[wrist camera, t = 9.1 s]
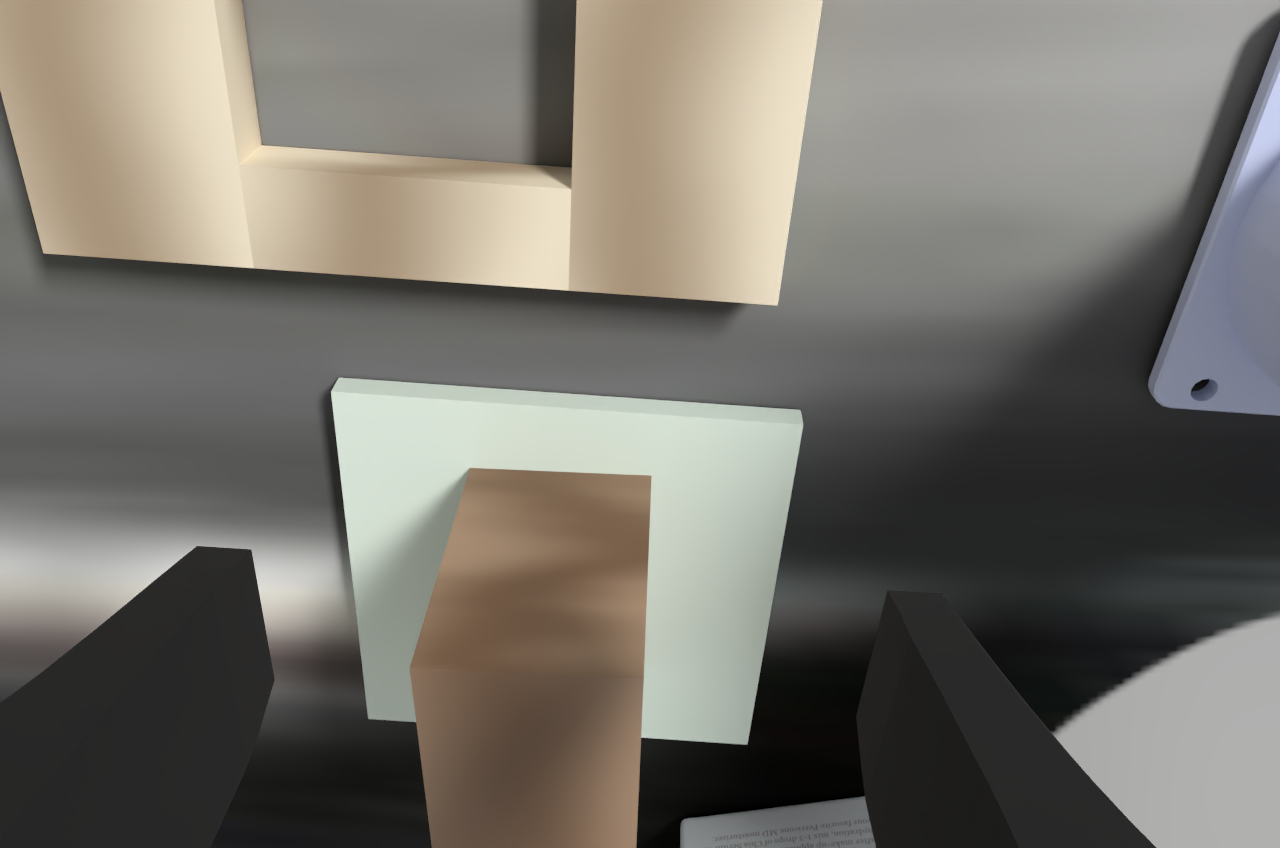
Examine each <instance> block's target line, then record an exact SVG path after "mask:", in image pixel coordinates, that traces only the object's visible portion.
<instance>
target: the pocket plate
mask: <svg viewBox="0 0 1280 848" xmlns="http://www.w3.org/2000/svg"><path fill="white" fill-rule="evenodd" d="M822 2H823V0H577V6H576V42H575V77H574V113H573V149H572V168H570V167H557V166H543V165H529V164H515V163H501V162H487V161H473V160H459V159H445V158H431V157H417V156H403V155H389V154H375V153H361V152H347V151H333V150H319V149H305V148H291V147H277V146H264V145H261V138H260V130H259V123H258V116H257V108H256V101H255V94H254V86H253V79H252V71H251V64H250V57H249V49H248V42H247V35H246V27H245V20H244V12H243V5H242V0H0V91H1V95H2V99H3V103H4V106H5V110H6V114H7V118H8V121H9V125H10V129H11V133H12V136H13V140H14V144H15V148H16V152H17V155H18V159H19V163H20V167H21V170H22V174H23V178H24V182H25V185H26V189H27V193H28V197H29V201H30V204H31V208H32V212H33V216H34V219H35V223H36V227H37V231H38V234H39V238H40V242H41V246H42V250H43V253H45V254H59V255H73V256H87V257H102V258H116V259H130V260H144V261H158V262H172V263H186V264H200V265H214V266H228V267H243V268H257V269H271V270H285V271H299V272H313V273H327V274H341V275H355V276H370V277H384V278H398V279H412V280H426V281H440V282H454V283H468V284H482V285H497V286H511V287H525V288H539V289H553V290H567V291H581V292H595V293H609V294H624V295H638V296H652V297H666V298H680V299H694V300H708V301H722V302H736V303H750V304H765V305H778V299H779V292H780V286H781V279H782V272H783V265H784V259H785V252H786V245H787V238H788V232H789V225H790V218H791V211H792V205H793V198H794V191H795V184H796V178H797V171H798V164H799V157H800V151H801V144H802V137H803V130H804V124H805V117H806V110H807V103H808V97H809V90H810V83H811V76H812V70H813V63H814V56H815V49H816V43H817V36H818V29H819V22H820V16H821V9H822Z"/></svg>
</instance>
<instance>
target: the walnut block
mask: <svg viewBox="0 0 1280 848" xmlns="http://www.w3.org/2000/svg"><path fill="white" fill-rule="evenodd" d="M650 502H651V476H648V475H625V474H601V473H578V472H554V471H531V470H507V469H484V468H470V469H469V472H468V476H467V479H466V482H465V486H464V489H463V492H462V496H461V499H460V502H459V506H458V509H457V512H456V515H455V519H454V522H453V525H452V529H451V532H450V535H449V539H448V542H447V545H446V549H445V552H444V555H443V559H442V562H441V565H440V568H439V572H438V575H437V578H436V582H435V585H434V588H433V592H432V595H431V598H430V602H429V605H428V608H427V611H426V615H425V618H424V621H423V625H422V628H421V631H420V635H419V638H418V641H417V645H416V648H415V651H414V655H413V658H412V661H411V664H410V676H411V684H412V692H413V700H414V708H415V716H416V724H417V732H418V740H419V748H420V756H421V764H422V772H423V780H424V788H425V796H426V804H427V812H428V820H429V828H430V836H431V844H432V848H636V841H637V819H638V796H639V773H640V751H641V728H642V705H643V683H644V657H645V632H646V606H647V580H648V554H649V528H650Z"/></svg>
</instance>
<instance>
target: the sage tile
mask: <svg viewBox="0 0 1280 848" xmlns="http://www.w3.org/2000/svg"><path fill="white" fill-rule="evenodd" d="M331 397H332V405H333V414H334V423H335V432H336V441H337V449H338V458H339V467H340V476H341V485H342V493H343V502H344V511H345V520H346V528H347V537H348V546H349V555H350V564H351V572H352V581H353V590H354V599H355V608H356V616H357V625H358V634H359V643H360V651H361V660H362V669H363V678H364V687H365V695H366V704H367V713H368V719H377V720H392V721H406V722H416V716H415V708H414V700H413V692H412V684H411V676H410V664H411V661H412V658H413V655H414V651H415V648H416V645H417V641H418V638H419V635H420V631H421V628H422V625H423V621H424V618H425V615H426V611H427V608H428V605H429V602H430V598H431V595H432V592H433V588H434V585H435V582H436V578H437V575H438V572H439V568H440V565H441V562H442V559H443V555H444V552H445V549H446V545H447V542H448V539H449V535H450V532H451V529H452V525H453V522H454V519H455V515H456V512H457V509H458V506H459V502H460V499H461V496H462V492H463V489H464V486H465V482H466V479H467V476H468V472H469V469H470V468H484V469H507V470H531V471H554V472H578V473H601V474H625V475H648V476H651V502H650V528H649V554H648V580H647V606H646V632H645V657H644V683H643V705H642V728H641V738H656V739H671V740H686V741H700V742H715V743H730V744H744V745H747V744H748V738H749V733H750V727H751V721H752V715H753V710H754V704H755V698H756V693H757V687H758V681H759V675H760V670H761V664H762V658H763V653H764V647H765V641H766V635H767V630H768V624H769V618H770V613H771V607H772V601H773V595H774V590H775V584H776V578H777V573H778V567H779V561H780V555H781V550H782V544H783V538H784V533H785V527H786V521H787V515H788V510H789V504H790V498H791V493H792V487H793V481H794V475H795V470H796V464H797V458H798V453H799V447H800V441H801V435H802V430H803V420H802V415H801V410H794V409H779V408H765V407H751V406H737V405H722V404H708V403H694V402H680V401H665V400H651V399H637V398H623V397H608V396H594V395H580V394H566V393H551V392H537V391H523V390H509V389H494V388H480V387H466V386H452V385H438V384H423V383H409V382H395V381H381V380H366V379H352V378H338V380H337V382H336V384H335V385H334V387H333V389H332V391H331Z"/></svg>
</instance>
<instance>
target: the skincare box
mask: <svg viewBox="0 0 1280 848" xmlns="http://www.w3.org/2000/svg"><path fill="white" fill-rule="evenodd" d="M680 848H876V845H875V841H874V836H873V832H872V828H871V823H870V819H869V815H868V810H867V806H866V801H865V796H862V797H855V798H847V799H839V800H831V801H823V802H815V803H807V804H800V805H792V806H783V807H775V808H768V809H761V810H752V811H744V812H735V813H727V814H720V815H713V816H704V817H694V818H686V819H684V820H682V822H681V827H680Z"/></svg>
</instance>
